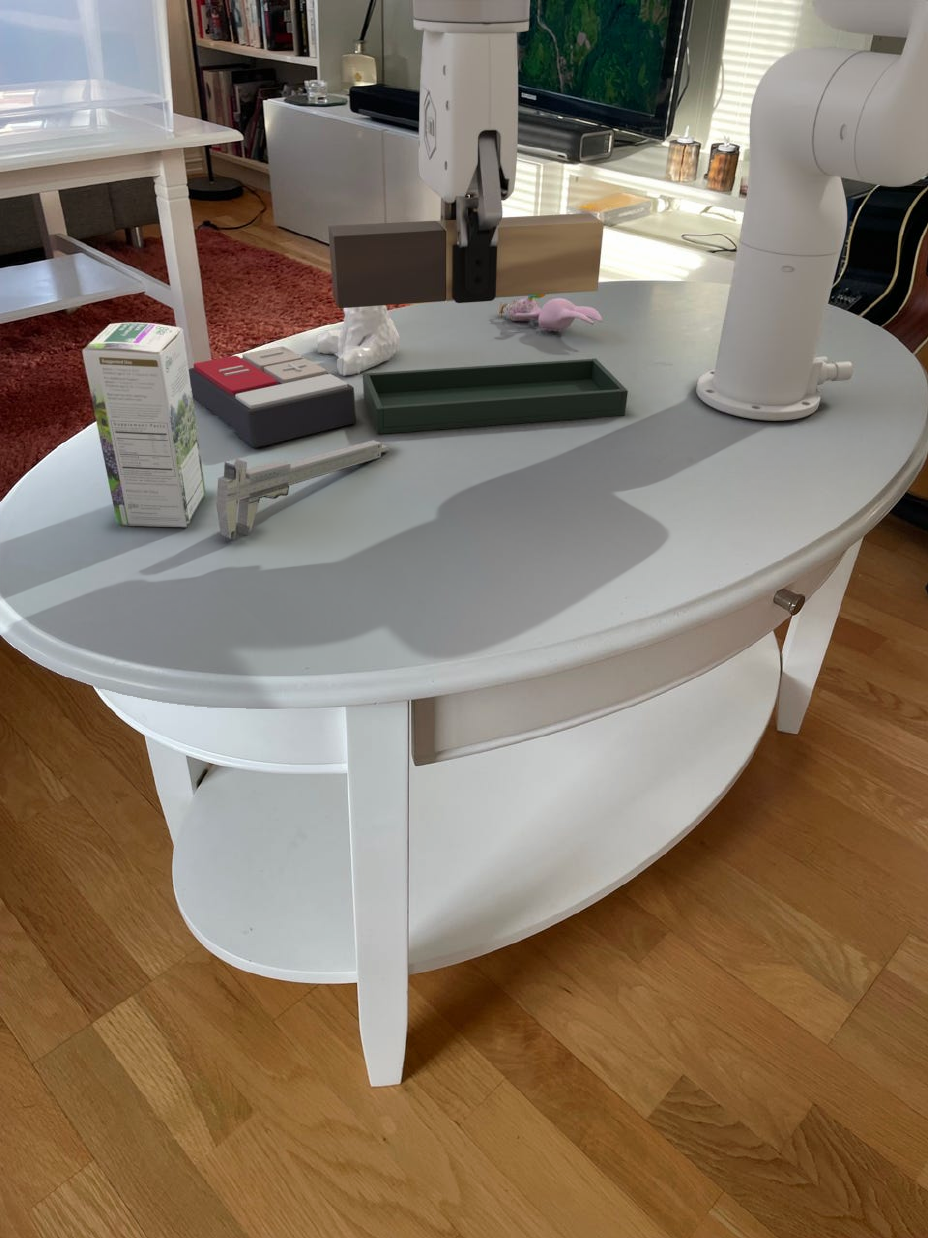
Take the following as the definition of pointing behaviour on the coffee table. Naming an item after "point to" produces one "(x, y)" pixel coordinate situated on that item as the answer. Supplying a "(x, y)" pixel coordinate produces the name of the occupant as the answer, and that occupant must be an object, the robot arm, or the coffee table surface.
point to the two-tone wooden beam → (422, 259)
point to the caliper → (278, 482)
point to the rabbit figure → (549, 312)
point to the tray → (491, 395)
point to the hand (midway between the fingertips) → (467, 290)
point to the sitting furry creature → (361, 339)
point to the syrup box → (146, 423)
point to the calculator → (272, 395)
